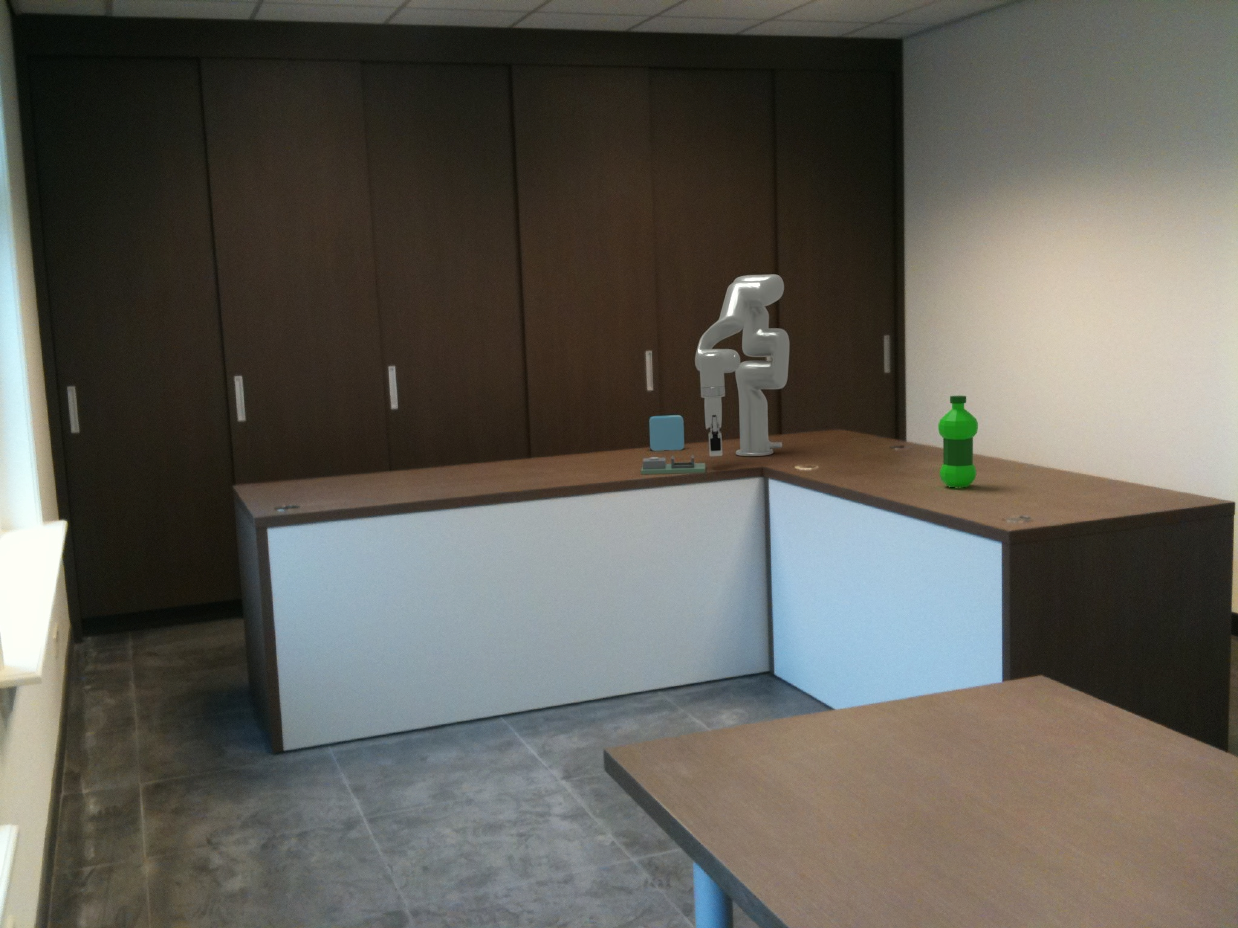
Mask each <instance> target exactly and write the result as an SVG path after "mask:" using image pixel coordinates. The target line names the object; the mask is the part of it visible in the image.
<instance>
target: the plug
mask: <svg viewBox="0 0 1238 928" xmlns="http://www.w3.org/2000/svg"><path fill="white" fill-rule="evenodd" d="M719 435H720V441H721V450H720V451H711V446H710V438H711V432H710V431H708V450H709V451H708V452H709V457H721V456H723V440H722V431H719ZM712 436H713V434H712Z"/></svg>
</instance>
